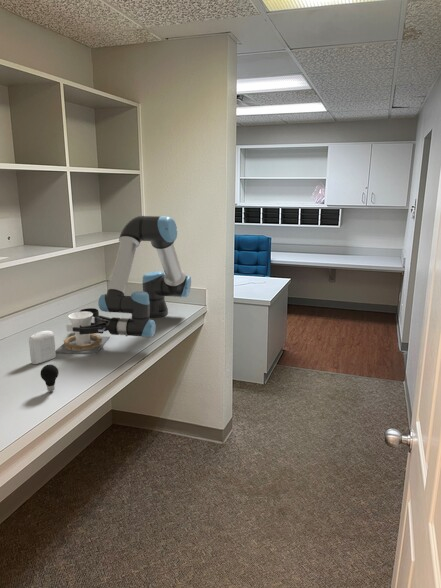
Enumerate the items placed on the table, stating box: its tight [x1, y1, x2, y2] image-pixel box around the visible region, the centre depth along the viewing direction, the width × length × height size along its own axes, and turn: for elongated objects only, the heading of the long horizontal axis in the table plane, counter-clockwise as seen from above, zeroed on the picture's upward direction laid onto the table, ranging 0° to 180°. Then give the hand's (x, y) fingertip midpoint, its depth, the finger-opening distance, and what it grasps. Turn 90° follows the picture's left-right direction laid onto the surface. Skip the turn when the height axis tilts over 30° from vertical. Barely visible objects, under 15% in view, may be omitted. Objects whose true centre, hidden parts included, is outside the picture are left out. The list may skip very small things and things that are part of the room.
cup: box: [67, 311, 93, 345], centre depth 198 cm, size 10×10×14 cm
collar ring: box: [63, 333, 102, 351], centre depth 200 cm, size 16×16×2 cm
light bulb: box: [40, 364, 60, 393], centre depth 155 cm, size 6×6×10 cm
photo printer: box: [28, 330, 57, 365], centre depth 182 cm, size 10×4×12 cm, turn 144°
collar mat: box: [55, 335, 111, 355], centre depth 200 cm, size 20×18×1 cm
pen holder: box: [78, 307, 100, 325], centre depth 218 cm, size 9×9×10 cm
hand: (74, 323), depth 198 cm, fingers open, 12 cm apart
